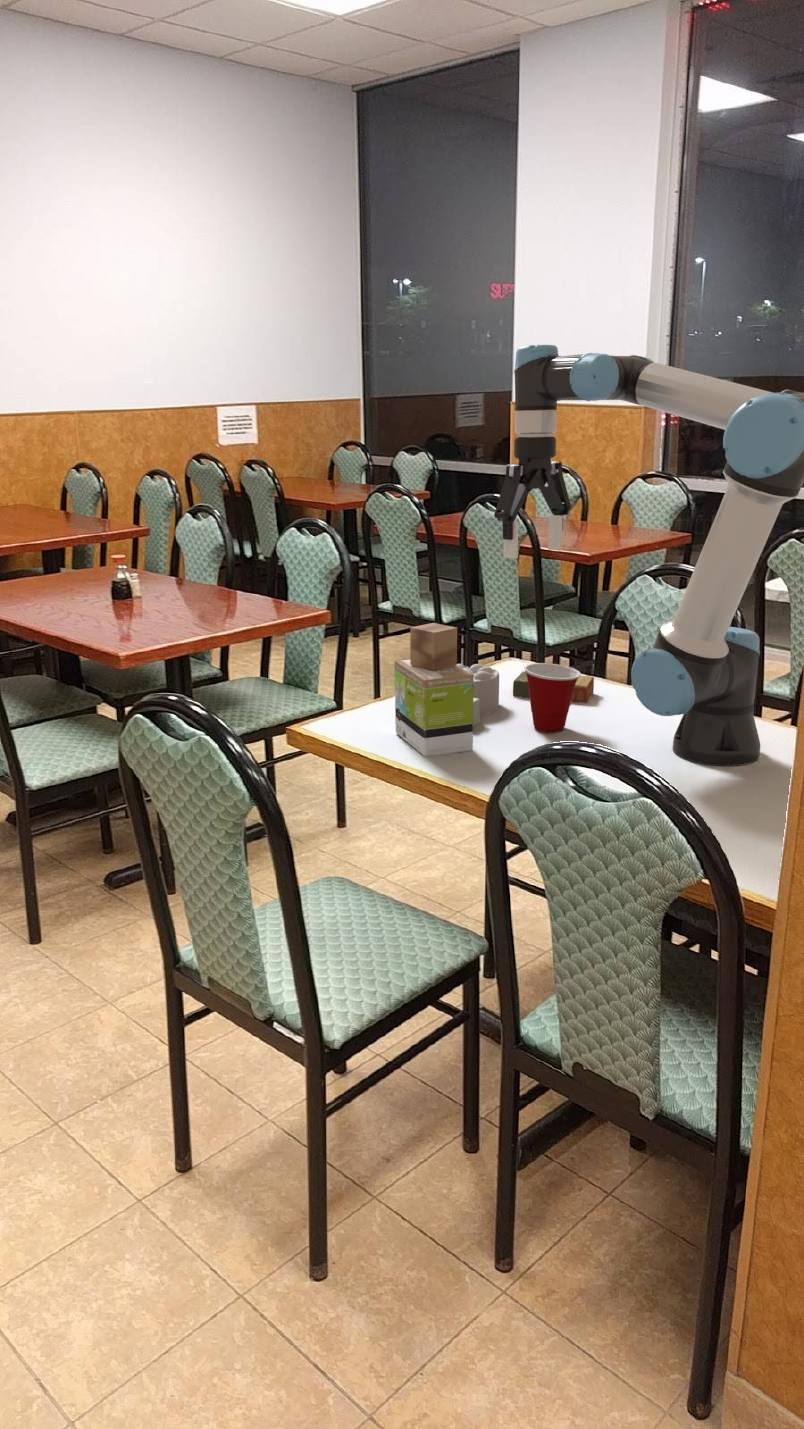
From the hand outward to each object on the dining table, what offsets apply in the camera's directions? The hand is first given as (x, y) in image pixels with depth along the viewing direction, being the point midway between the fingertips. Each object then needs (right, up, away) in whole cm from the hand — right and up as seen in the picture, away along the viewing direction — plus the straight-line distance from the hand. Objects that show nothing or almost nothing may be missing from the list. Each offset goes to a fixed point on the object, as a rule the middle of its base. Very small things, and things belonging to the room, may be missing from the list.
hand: (533, 553), depth 201 cm
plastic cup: (+4, -33, +9) cm, 34 cm away
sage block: (-13, -32, +12) cm, 36 cm away
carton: (+8, -26, +32) cm, 42 cm away
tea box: (-19, -35, +1) cm, 40 cm away
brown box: (-19, -21, -3) cm, 28 cm away
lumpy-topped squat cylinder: (-10, -29, +23) cm, 38 cm away
